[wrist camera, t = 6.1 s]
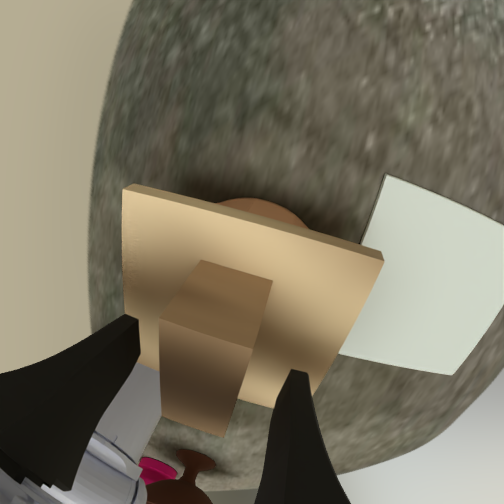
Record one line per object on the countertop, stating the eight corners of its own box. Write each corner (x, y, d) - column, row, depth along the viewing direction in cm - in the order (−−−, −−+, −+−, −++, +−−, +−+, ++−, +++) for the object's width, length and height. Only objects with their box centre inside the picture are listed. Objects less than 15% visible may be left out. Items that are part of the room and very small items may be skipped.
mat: (451, 371, 18) (452, 375, 18) (315, 343, 19) (315, 347, 19) (532, 241, 12) (535, 243, 12) (385, 173, 13) (386, 175, 13)
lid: (301, 403, 15) (291, 470, 12) (136, 350, 16) (99, 404, 12) (380, 251, 11) (406, 328, 7) (133, 183, 11) (59, 224, 8)
